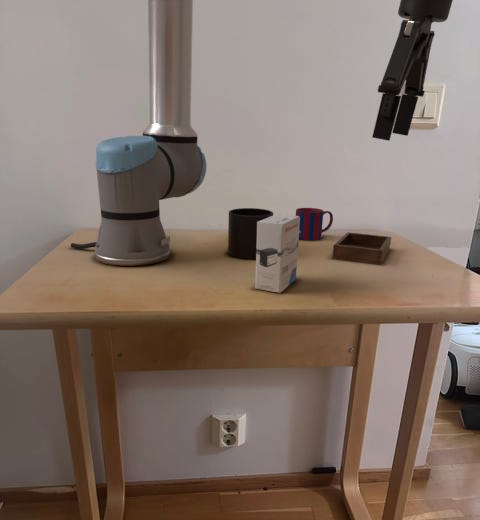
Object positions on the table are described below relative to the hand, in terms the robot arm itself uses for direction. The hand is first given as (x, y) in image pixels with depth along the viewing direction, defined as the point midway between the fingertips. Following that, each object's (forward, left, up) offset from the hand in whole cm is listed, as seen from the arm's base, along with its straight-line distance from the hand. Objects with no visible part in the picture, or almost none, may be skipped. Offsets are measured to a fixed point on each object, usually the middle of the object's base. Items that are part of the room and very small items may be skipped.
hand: (390, 136), depth 83 cm
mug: (-26, +4, -25) cm, 36 cm away
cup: (-19, +26, -25) cm, 41 cm away
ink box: (-15, -14, -25) cm, 32 cm away
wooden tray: (-5, +15, -25) cm, 29 cm away
